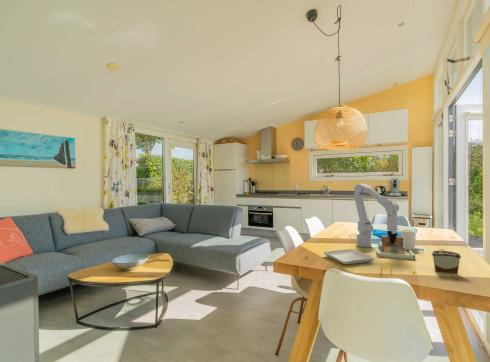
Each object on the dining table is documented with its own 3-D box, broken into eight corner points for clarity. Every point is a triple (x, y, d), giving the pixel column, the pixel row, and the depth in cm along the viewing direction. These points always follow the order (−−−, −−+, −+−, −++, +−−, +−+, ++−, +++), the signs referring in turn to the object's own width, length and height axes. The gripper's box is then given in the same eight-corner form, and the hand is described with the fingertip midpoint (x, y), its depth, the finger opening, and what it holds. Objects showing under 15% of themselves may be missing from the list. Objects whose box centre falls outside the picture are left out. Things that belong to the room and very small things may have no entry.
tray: (377, 256, 165) (377, 252, 165) (375, 251, 176) (375, 248, 176) (415, 259, 158) (415, 255, 158) (410, 254, 169) (410, 250, 169)
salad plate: (343, 267, 147) (343, 261, 147) (322, 256, 168) (322, 251, 168) (376, 263, 153) (376, 257, 153) (351, 254, 173) (351, 248, 173)
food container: (456, 270, 139) (456, 251, 139) (461, 274, 134) (461, 254, 134) (428, 268, 143) (428, 249, 143) (432, 272, 138) (432, 252, 138)
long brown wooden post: (382, 245, 176) (382, 236, 176) (381, 244, 179) (381, 235, 179) (403, 247, 172) (403, 237, 172) (402, 246, 174) (402, 236, 174)
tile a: (383, 252, 173) (384, 253, 171) (383, 245, 173) (384, 246, 171) (390, 252, 172) (391, 253, 169) (390, 246, 172) (391, 247, 169)
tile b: (396, 250, 169) (396, 254, 169) (397, 251, 165) (397, 255, 165) (403, 250, 167) (403, 254, 167) (405, 252, 164) (405, 256, 164)
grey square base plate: (380, 252, 176) (380, 245, 176) (378, 247, 188) (378, 241, 188) (405, 254, 171) (405, 247, 171) (401, 249, 183) (401, 243, 183)
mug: (411, 245, 191) (411, 229, 191) (422, 248, 183) (422, 231, 183) (397, 247, 188) (397, 229, 188) (408, 250, 180) (407, 232, 180)
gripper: (401, 223, 167) (401, 245, 167) (397, 220, 180) (397, 240, 181) (388, 223, 169) (388, 244, 169) (385, 219, 183) (385, 240, 183)
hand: (392, 242), depth 175 cm, fingers closed on long brown wooden post, 3 cm apart
